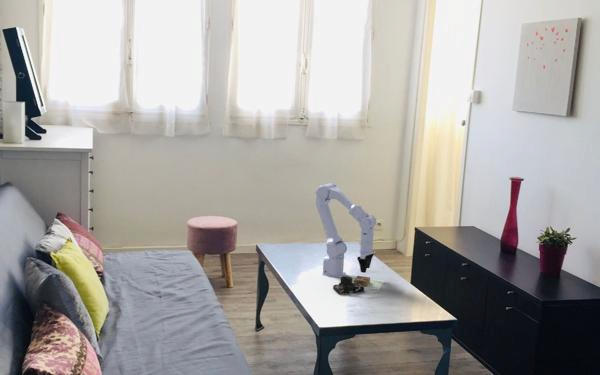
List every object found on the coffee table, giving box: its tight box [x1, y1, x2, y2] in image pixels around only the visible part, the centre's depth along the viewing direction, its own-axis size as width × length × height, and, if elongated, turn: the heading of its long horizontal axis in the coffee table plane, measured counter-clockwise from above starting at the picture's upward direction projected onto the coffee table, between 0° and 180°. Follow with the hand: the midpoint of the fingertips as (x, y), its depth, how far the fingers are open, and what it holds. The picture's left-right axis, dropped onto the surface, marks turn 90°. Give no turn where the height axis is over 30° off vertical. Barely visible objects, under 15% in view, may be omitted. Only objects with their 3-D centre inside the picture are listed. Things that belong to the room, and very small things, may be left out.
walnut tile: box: [354, 275, 371, 287], centre depth 290 cm, size 6×2×7 cm
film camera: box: [332, 276, 365, 295], centre depth 280 cm, size 13×8×10 cm
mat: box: [346, 275, 386, 291], centre depth 292 cm, size 18×14×1 cm
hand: (365, 270), depth 295 cm, fingers open, 7 cm apart
